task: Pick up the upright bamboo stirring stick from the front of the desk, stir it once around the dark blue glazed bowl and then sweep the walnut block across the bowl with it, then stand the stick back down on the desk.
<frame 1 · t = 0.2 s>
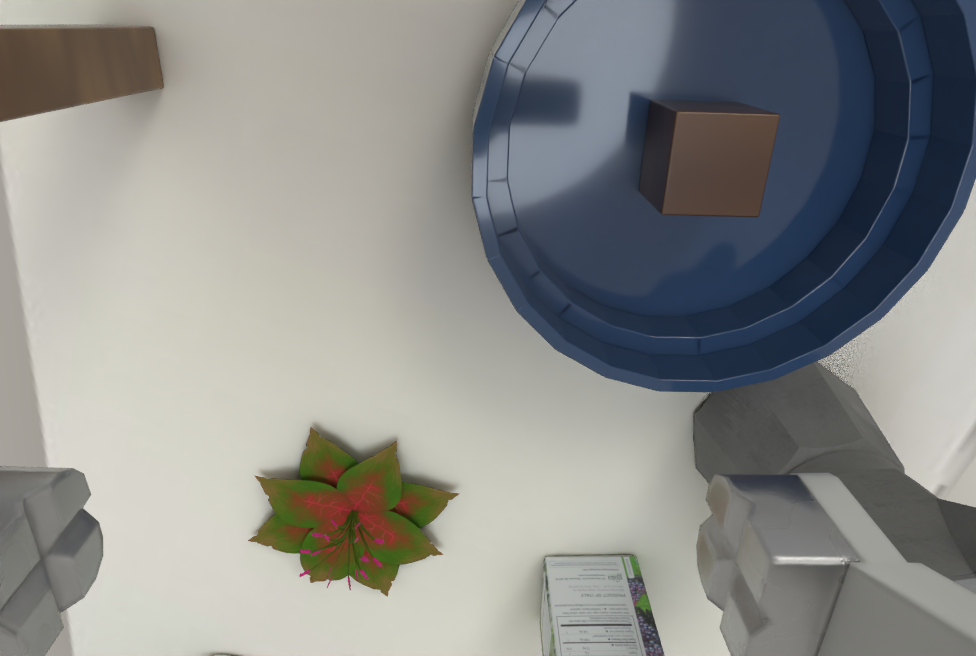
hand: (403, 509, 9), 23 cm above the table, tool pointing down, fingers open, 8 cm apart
stick: (130, 56, 27), on the table
block: (688, 148, 29), point 1 cm above the table, touching bowl
coffeepot: (761, 441, 37), on the table
lily flower: (354, 507, 38), on the table
bowl: (684, 146, 30), on the table
syrup box: (584, 585, 41), on the table
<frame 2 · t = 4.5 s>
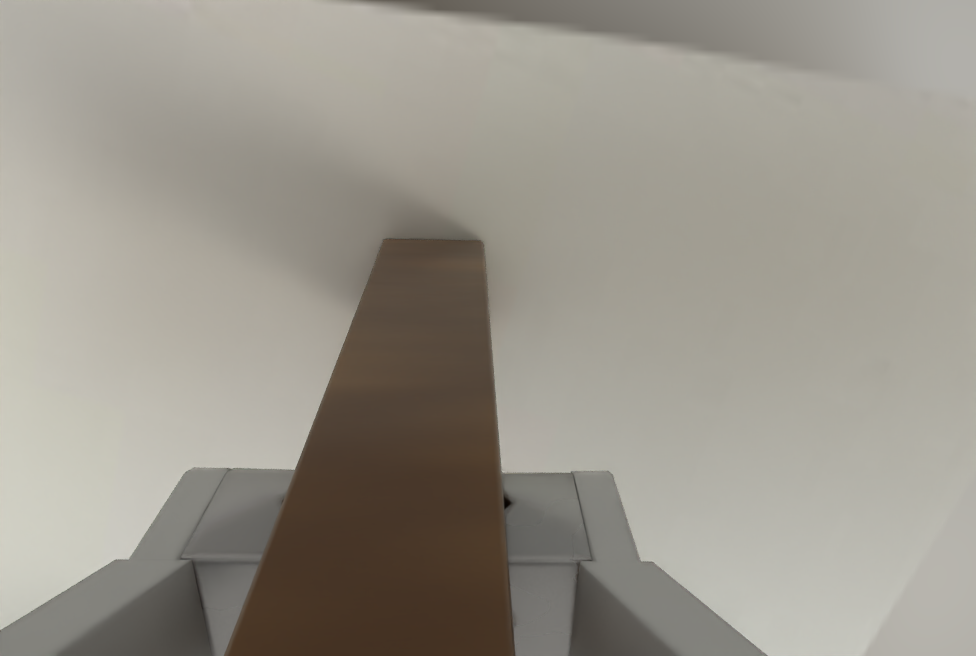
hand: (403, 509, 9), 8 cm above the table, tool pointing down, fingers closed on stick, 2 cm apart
stick: (433, 285, 16), on the table, touching gripper
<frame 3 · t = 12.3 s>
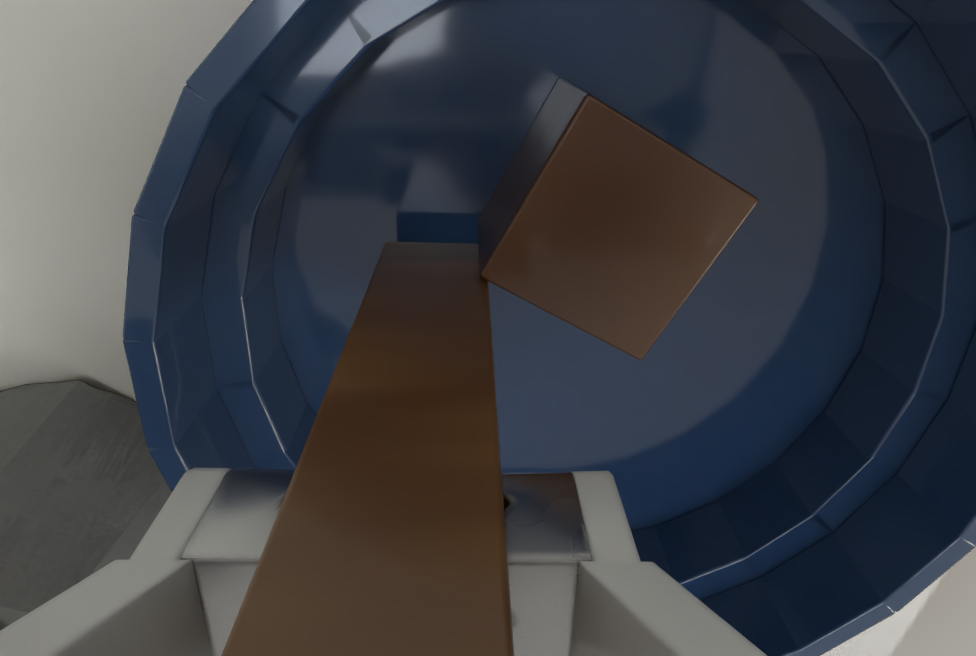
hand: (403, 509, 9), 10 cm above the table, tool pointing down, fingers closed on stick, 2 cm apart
stick: (435, 288, 16), point 2 cm above the table, touching gripper
block: (584, 192, 16), point 1 cm above the table, touching bowl
coffeepot: (55, 490, 21), on the table
bowl: (575, 299, 18), on the table
when the fingers open (8 cm above the table, at t = 26.1 s): stick moves 2 cm and tips over, point 1 cm above the table.
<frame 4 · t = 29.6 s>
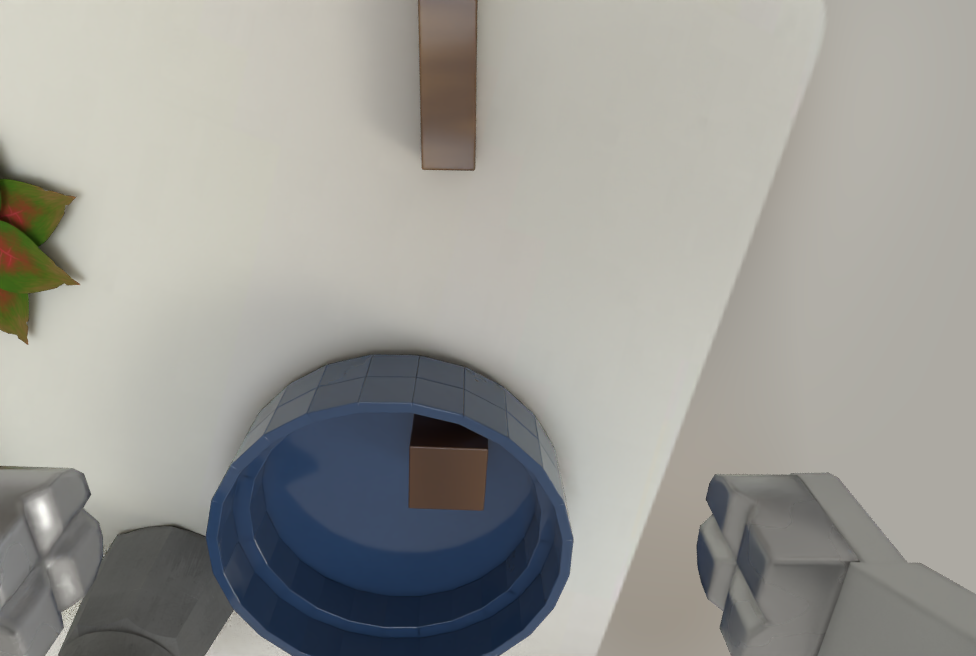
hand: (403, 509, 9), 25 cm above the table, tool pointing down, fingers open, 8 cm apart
stick: (449, 165, 30), point 1 cm above the table, tilted 90°
block: (449, 435, 37), point 1 cm above the table, touching bowl
coffeepot: (157, 572, 42), on the table
bowl: (401, 490, 40), on the table
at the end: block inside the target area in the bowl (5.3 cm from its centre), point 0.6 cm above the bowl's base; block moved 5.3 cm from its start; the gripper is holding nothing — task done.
